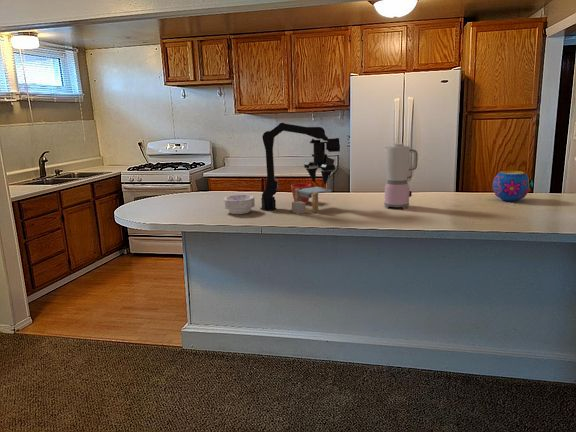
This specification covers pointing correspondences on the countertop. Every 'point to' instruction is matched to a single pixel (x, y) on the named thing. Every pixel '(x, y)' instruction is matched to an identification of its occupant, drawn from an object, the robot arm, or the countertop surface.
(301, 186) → the flower pot
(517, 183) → the ceramic pot
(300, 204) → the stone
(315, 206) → the frame
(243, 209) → the paper bowls
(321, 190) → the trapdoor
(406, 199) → the blender
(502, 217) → the countertop surface
